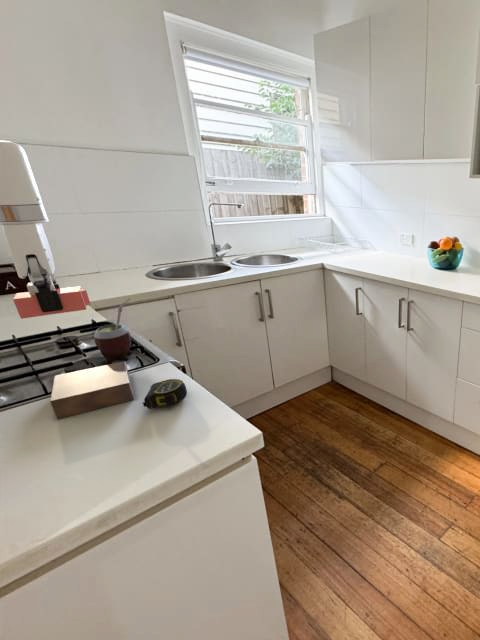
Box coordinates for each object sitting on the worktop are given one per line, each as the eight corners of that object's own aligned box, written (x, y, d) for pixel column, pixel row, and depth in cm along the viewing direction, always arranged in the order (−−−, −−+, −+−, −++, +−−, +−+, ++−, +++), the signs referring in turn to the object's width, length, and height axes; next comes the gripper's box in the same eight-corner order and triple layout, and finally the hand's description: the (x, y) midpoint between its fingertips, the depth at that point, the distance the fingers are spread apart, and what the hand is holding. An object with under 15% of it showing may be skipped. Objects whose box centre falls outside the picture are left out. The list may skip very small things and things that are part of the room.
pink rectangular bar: (20, 318, 74) (8, 289, 72) (23, 312, 77) (11, 283, 75) (91, 308, 80) (82, 281, 78) (91, 303, 84) (82, 276, 81)
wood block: (57, 419, 72) (49, 401, 70) (61, 392, 80) (54, 375, 79) (134, 399, 79) (128, 382, 77) (129, 376, 87) (125, 361, 86)
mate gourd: (94, 360, 94) (74, 302, 88) (126, 348, 101) (110, 294, 95) (115, 366, 92) (96, 307, 86) (146, 353, 98) (131, 297, 92)
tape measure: (155, 395, 80) (151, 380, 79) (191, 391, 82) (188, 375, 81) (145, 413, 74) (140, 396, 73) (184, 408, 76) (180, 392, 75)
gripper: (-2, 211, 75) (33, 299, 82) (-18, 220, 63) (24, 322, 70) (49, 210, 79) (77, 294, 86) (43, 218, 67) (77, 315, 74)
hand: (53, 306), depth 78 cm, fingers closed on pink rectangular bar, 4 cm apart
